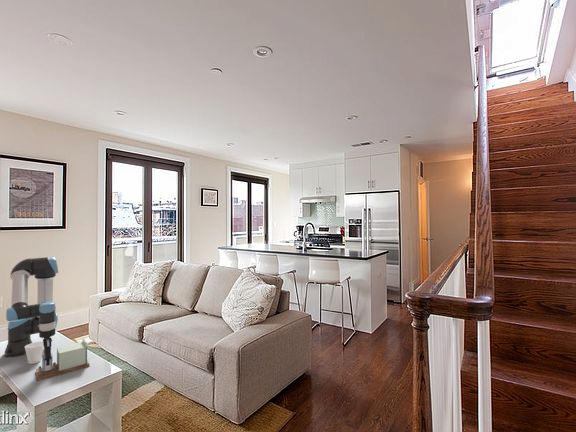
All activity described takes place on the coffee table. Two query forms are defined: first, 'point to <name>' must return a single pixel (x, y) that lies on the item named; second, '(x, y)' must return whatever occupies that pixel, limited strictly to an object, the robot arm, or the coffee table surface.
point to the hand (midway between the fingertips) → (47, 368)
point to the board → (56, 371)
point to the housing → (72, 355)
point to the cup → (34, 352)
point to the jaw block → (44, 362)
